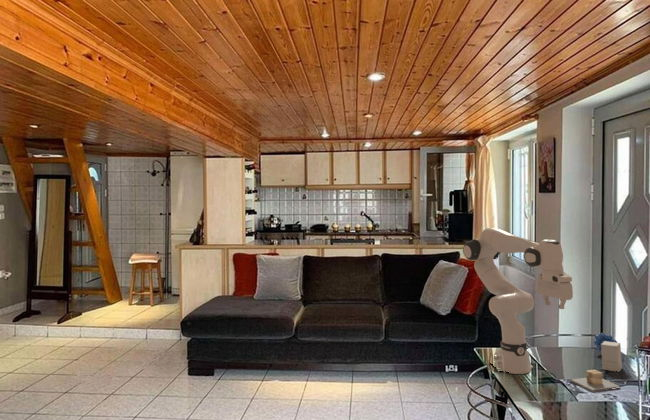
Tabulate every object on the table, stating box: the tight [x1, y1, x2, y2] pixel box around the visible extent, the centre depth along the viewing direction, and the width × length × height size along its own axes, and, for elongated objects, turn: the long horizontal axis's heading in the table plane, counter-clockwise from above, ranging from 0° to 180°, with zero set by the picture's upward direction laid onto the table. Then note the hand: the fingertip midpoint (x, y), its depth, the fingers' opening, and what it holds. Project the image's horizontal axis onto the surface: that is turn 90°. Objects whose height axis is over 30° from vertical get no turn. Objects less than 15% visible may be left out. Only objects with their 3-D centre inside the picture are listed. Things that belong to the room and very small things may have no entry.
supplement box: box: [600, 341, 623, 373], centre depth 238 cm, size 7×7×13 cm
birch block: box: [585, 369, 603, 385], centre depth 219 cm, size 4×4×5 cm
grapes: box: [593, 332, 618, 352], centre depth 259 cm, size 12×7×12 cm, turn 61°
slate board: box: [570, 377, 621, 393], centre depth 219 cm, size 14×14×1 cm
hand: (554, 306), depth 215 cm, fingers open, 8 cm apart
